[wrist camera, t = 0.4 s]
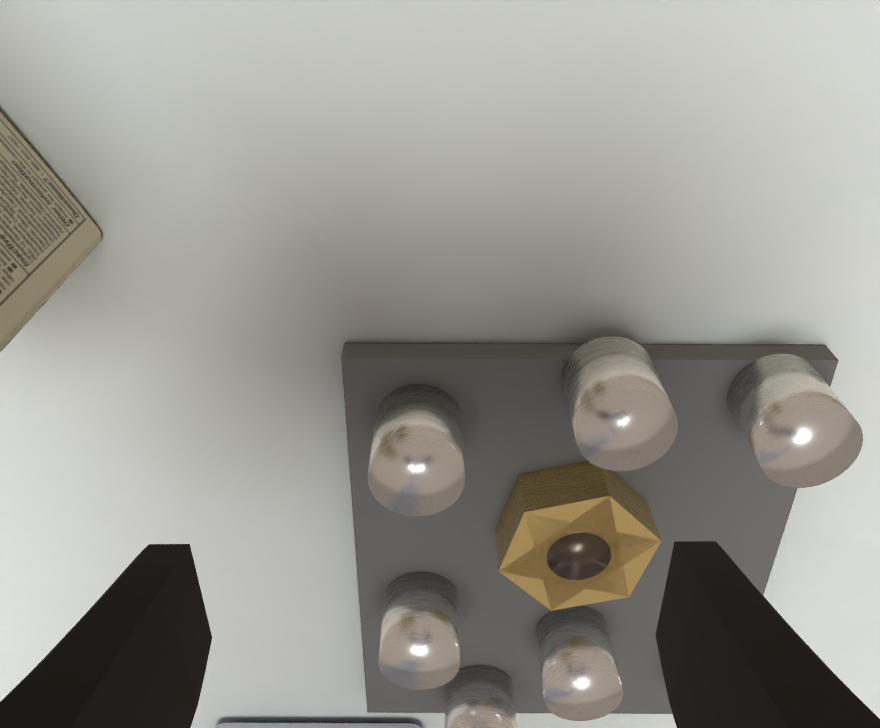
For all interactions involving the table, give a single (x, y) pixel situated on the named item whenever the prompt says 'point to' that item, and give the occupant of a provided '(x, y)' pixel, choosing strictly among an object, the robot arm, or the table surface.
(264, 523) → the table surface
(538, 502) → the nut
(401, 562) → the mat
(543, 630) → the spacers
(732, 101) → the table surface
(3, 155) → the skincare box
